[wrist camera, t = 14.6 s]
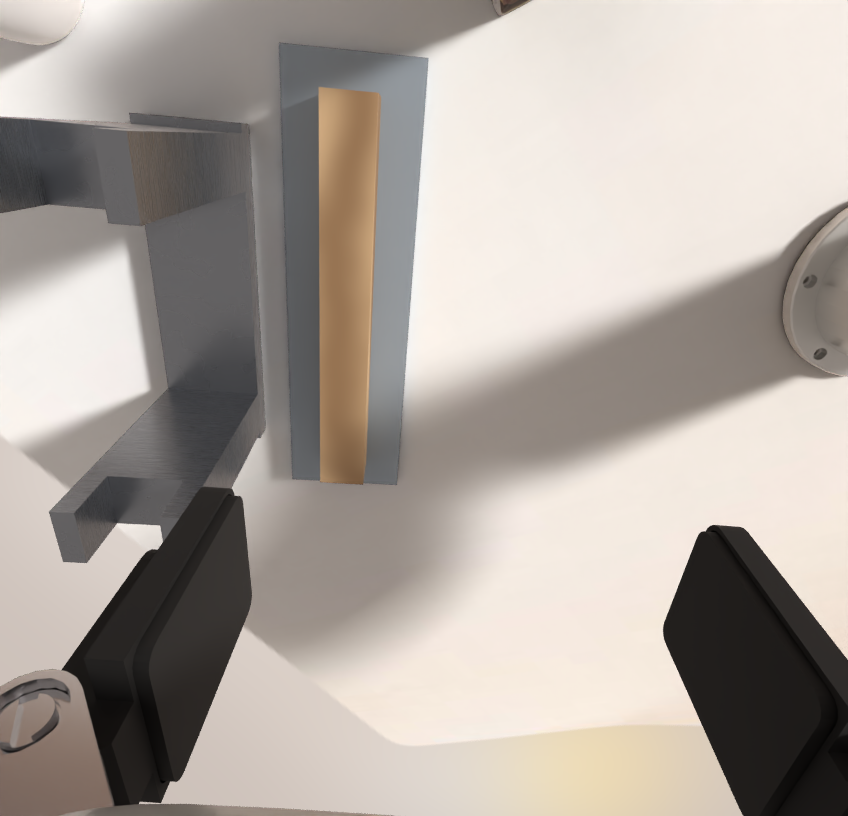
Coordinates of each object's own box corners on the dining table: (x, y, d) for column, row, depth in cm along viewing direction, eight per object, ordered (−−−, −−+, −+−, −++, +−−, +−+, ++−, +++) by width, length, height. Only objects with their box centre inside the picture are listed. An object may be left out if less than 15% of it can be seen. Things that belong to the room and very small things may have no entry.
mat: (428, 59, 30) (428, 58, 29) (397, 480, 42) (396, 484, 42) (281, 44, 29) (279, 42, 29) (294, 474, 42) (292, 478, 41)
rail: (381, 96, 30) (378, 92, 27) (366, 461, 41) (363, 484, 38) (326, 91, 30) (318, 87, 27) (326, 459, 40) (320, 482, 38)
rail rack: (248, 123, 31) (123, 113, 17) (265, 428, 40) (191, 575, 26) (141, 113, 30) (-70, 95, 17) (182, 422, 39) (65, 569, 26)
